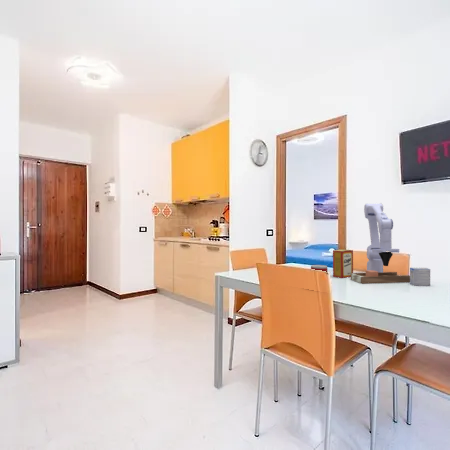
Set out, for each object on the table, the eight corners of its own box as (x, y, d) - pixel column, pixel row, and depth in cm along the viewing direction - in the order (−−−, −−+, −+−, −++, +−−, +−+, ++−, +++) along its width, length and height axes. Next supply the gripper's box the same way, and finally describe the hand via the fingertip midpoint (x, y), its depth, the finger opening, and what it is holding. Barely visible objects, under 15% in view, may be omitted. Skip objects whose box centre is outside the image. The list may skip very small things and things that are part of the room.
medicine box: (425, 284, 158) (425, 267, 158) (430, 286, 154) (430, 268, 154) (409, 284, 159) (409, 267, 159) (414, 285, 155) (413, 268, 154)
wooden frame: (350, 279, 173) (350, 273, 173) (395, 278, 175) (395, 272, 175) (361, 283, 161) (361, 277, 161) (410, 282, 163) (410, 275, 163)
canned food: (315, 285, 157) (315, 264, 157) (330, 288, 152) (330, 265, 151) (307, 288, 152) (307, 266, 152) (322, 290, 146) (322, 267, 146)
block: (365, 276, 170) (365, 270, 170) (373, 276, 170) (373, 270, 170) (370, 278, 165) (370, 271, 165) (378, 278, 166) (378, 271, 166)
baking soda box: (342, 278, 177) (341, 250, 177) (333, 276, 182) (332, 249, 182) (353, 276, 181) (352, 249, 181) (344, 275, 187) (343, 248, 187)
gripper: (377, 241, 164) (377, 267, 164) (402, 241, 165) (403, 266, 165) (369, 241, 171) (370, 265, 171) (394, 240, 172) (394, 264, 172)
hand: (385, 265), depth 168 cm, fingers closed
